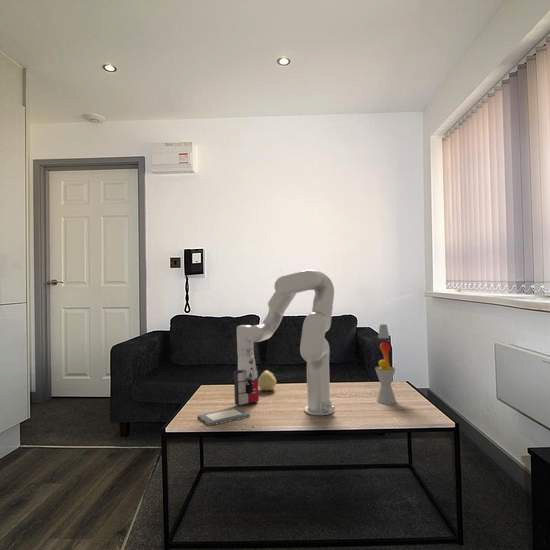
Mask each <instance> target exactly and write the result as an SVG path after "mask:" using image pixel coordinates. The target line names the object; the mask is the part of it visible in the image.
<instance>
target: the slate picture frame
mask: <svg viewBox="0 0 550 550" xmlns="http://www.w3.org/2000/svg"><path fill="white" fill-rule="evenodd" d="M248 416H250V417H251V413H249V412H247V411H245V410H243V409H241V408H240V407H239V406H238V407H237V406H235V407H230V408H225V409H221V410H216V411H212V412H207V413H203V414H197V418H198V417H199V418H200V419H202V420H203V421H204V422H206V423H207V424H208V425H212V424H216V423H220V424H222V423H221V422H225V421H229V420H233V421H235V420H234V419H237V420H239V419H238V418H242V419H244V418H243V417H246V418H249V417H248ZM199 418H198V419H199ZM200 419H199V420H200ZM202 420H201V421H202ZM203 421H202V422H203ZM204 422H203V423H204ZM229 422H230V421H229ZM206 423H205V424H206ZM225 423H226V422H225ZM207 424H206V425H207ZM208 425H207V426H208ZM216 425H217V424H216ZM212 426H213V425H212Z"/></svg>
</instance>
